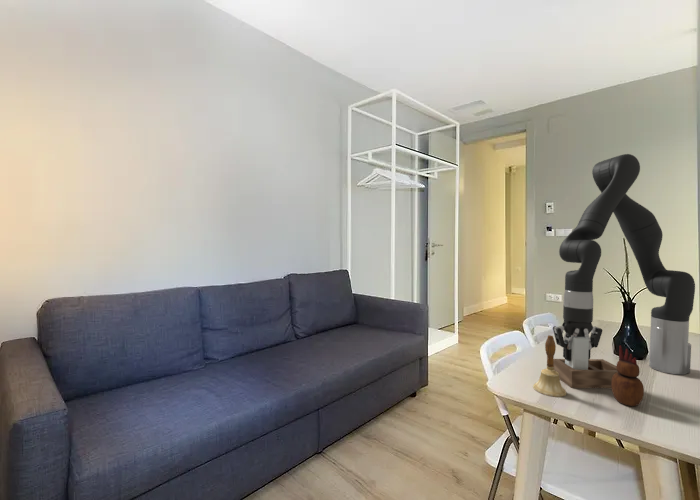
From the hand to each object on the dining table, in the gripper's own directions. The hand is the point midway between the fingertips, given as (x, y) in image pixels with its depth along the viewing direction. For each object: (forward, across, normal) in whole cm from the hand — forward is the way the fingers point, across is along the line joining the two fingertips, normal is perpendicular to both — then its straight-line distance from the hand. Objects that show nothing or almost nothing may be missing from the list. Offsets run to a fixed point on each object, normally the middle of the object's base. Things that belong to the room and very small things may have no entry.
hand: (576, 360), depth 104 cm
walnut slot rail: (+6, -4, 0) cm, 7 cm away
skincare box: (+5, 0, 0) cm, 5 cm away
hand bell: (+7, +12, +7) cm, 15 cm away
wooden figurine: (+7, -5, +14) cm, 16 cm away
